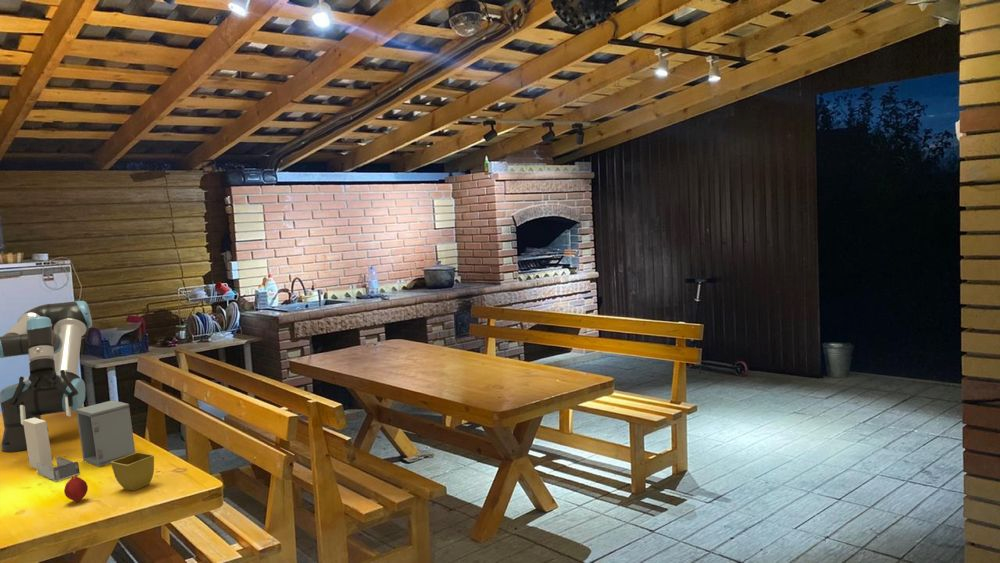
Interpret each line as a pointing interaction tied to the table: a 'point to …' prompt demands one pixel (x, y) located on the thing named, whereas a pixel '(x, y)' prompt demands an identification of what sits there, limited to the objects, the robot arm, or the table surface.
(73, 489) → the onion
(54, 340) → the robot arm
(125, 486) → the flower pot
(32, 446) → the door
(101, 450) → the cabinet
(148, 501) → the table surface
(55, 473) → the drawer
